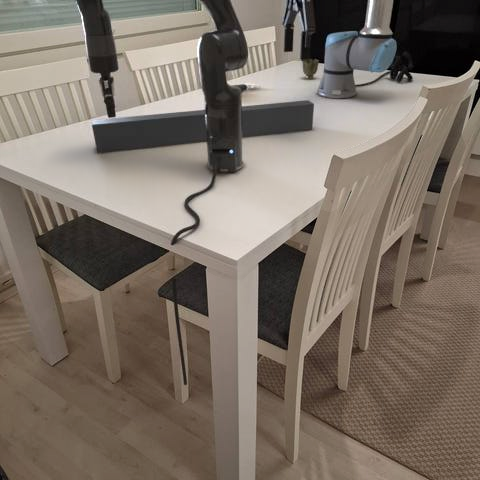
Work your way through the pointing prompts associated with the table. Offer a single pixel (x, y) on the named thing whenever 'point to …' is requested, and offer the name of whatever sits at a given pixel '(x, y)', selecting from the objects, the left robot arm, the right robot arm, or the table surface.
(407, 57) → the squiggle
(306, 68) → the cup
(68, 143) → the table surface
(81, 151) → the table surface
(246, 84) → the spray bottle
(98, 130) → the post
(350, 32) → the right robot arm
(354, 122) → the table surface
